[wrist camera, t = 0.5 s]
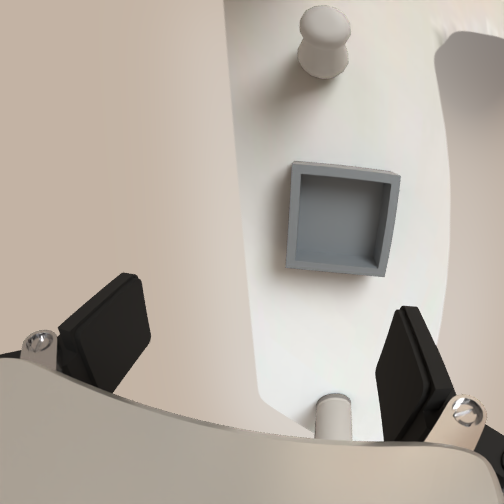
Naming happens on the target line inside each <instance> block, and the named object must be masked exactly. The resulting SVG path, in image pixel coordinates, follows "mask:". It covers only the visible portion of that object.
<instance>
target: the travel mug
mask: <svg viewBox="0 0 504 504" xmlns="http://www.w3.org/2000/svg"><path fill="white" fill-rule="evenodd" d="M316 410H317V411H316V424H315V438H314V439H326V440H345V441H352V417H351V401H350V399H349V398H348V397H347V396H345V395H342V394H328V395H325V396H323V397H322V398H321V399H320V400H319V401H318V402H317V409H316Z"/></svg>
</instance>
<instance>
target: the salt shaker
mask: <svg viewBox="0 0 504 504" xmlns="http://www.w3.org/2000/svg"><path fill="white" fill-rule="evenodd" d="M300 33H301V34H302V36H303V40H302V42H301V44H300V46H299V47H298V60H299V62H300V64H301V66H302V68H303V69H304V70H305V71H306V72H308V73H309V74H310V75H311V76H314V77H318V78H321V79H326V78H334V77H336V76H337V75H339V74H340V73H342V72H343V71H344V70H345V68H346V66H347V65H348V51H347V48H346V46H345V43H346V42H347V40H348V39H349V37H350V35H351V29H350V22H349V21H348V19H347V17H346V15H345V14H344V13H342V12H341V11H339V10H338V9H337V8H334V7H330V6H327V5H322V6H314V7H312V8H310V9H308V10H306V11H305V13H304V14H303V16H302V18H301V20H300Z"/></svg>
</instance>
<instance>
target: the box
mask: <svg viewBox="0 0 504 504" xmlns="http://www.w3.org/2000/svg"><path fill="white" fill-rule="evenodd" d="M400 178H401V176H400V175H398V174H395V173H393V172H391V171H384V170H377V169H369V168H361V167H353V166H344V165H335V164H324V163H313V162H301V161H294V162H293V163H292V173H291V193H290V210H289V226H288V241H287V255H286V268H294V269H304V270H315V271H325V272H335V273H346V274H357V275H367V276H378V277H385V272H386V268H387V263H388V258H389V252H390V247H391V242H392V236H393V230H394V224H395V217H396V210H397V203H398V196H399V187H400Z"/></svg>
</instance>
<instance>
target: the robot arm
mask: <svg viewBox="0 0 504 504" xmlns="http://www.w3.org/2000/svg"><path fill="white" fill-rule="evenodd" d="M58 329H59V332H60V335H59V336H58V337H57V335H56V334H55V333H54V332H52V331H50V330H40V331H37V332H34V333H32V334H30V335H29V336H28V337H27V338H26V339H25V340H24V342H23V345H22V350H20V351H15V352H10V353H5V354H1V355H0V504H504V435H502V434H500V433H499V432H497V431H496V430H494V429H492V428H491V427H489V426H487V425H486V424H485V423H486V420H487V413H486V409H485V407H484V405H483V404H482V403H481V402H480V401H479V400H478V399H476V398H475V397H472V396H470V395H464V394H462V395H457V396H456V393H455V390H454V388H453V385H452V383H451V380H450V377H449V375H448V372H447V370H446V367H445V365H444V363H443V360H442V358H441V355H440V353H439V351H438V348H437V346H436V345H435V343H434V341H433V339H432V337H431V334H430V332H429V330H428V328H427V326H426V324H425V321H424V319H423V317H422V315H421V313H420V311H419V309H418V307H413V306H402V307H401V308H400V310H396V311H395V313H394V316H393V319H392V323H391V326H390V329H389V332H388V335H387V338H386V341H385V344H384V347H383V350H382V353H381V355H380V358H379V361H378V364H377V367H376V372H375V376H376V382H377V389H378V396H379V403H380V410H381V418H382V427H383V436H384V441H345V440H326V439H312V438H302V437H293V436H284V435H276V434H270V433H262V432H257V431H251V430H245V429H239V428H234V427H229V426H224V425H219V424H214V423H210V422H206V421H201V420H197V419H193V418H189V417H185V416H181V415H178V414H174V413H171V412H167V411H163V410H160V409H157V408H154V407H150V406H147V405H144V404H141V403H138V402H135V401H132V400H129V399H126V398H123V397H120V396H117V395H115V394H112V393H113V392H114V390H115V389H116V388H117V386H118V385H119V384H120V382H121V381H122V379H123V378H124V377H125V375H126V374H127V372H128V371H129V370H130V368H131V367H132V366H133V364H134V363H135V362H136V360H137V359H138V357H139V356H140V355H141V353H142V352H143V351H144V350H145V348H146V347H147V346H148V344H149V342H150V339H151V333H150V328H149V323H148V317H147V312H146V306H145V300H144V294H143V288H142V282H141V280H140V279H138V276H137V275H135V274H129V273H121V274H120V275H119V276H117V277H116V278H115V279H114V280H112V281H111V282H110V283H109V284H108V285H106V286H105V287H104V288H103V289H102V290H100V291H99V292H98V293H97V294H96V295H94V296H93V297H92V298H91V299H90V300H89V301H87V302H86V303H85V304H84V305H83V306H82V307H80V308H79V309H78V310H77V311H76V312H75V313H73V314H72V315H71V316H70V317H69V318H68V319H67V320H65V321H64V322H63V323H62V324H61V325H60V326H59V327H58Z"/></svg>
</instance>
